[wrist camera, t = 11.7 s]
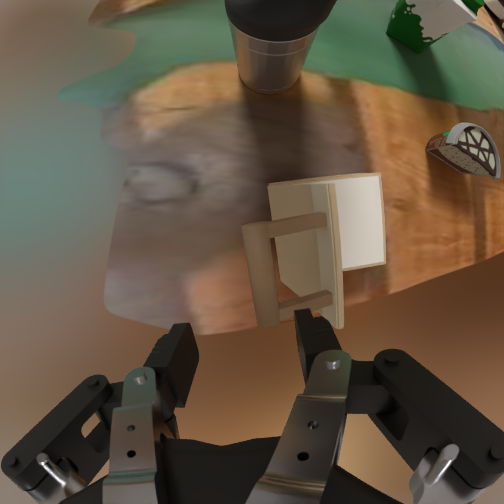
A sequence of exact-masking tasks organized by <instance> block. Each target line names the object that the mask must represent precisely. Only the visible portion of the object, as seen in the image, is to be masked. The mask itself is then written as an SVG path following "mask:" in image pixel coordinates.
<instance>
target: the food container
mask: <svg viewBox="0 0 504 504" xmlns="http://www.w3.org/2000/svg"><path fill="white" fill-rule="evenodd" d="M425 151H427V152H429V153H430V154H432V155H434V156H435V157H437V158H438V159H440V160H442V161H443V162H445V163H446V164H448V165H449V166H451V167H452V168H454V169H455V170H457V171H458V172H460V173H463V174H472V175H479V176H486V177H493V179H498V178H500V159H499V155H498V151H497V148H496V146H495V143H494V141H493V140H492V138H491V136H490V135H489V134H488V133H487V132H486V131H485V130H484V129H483V128H481V127H479V126H477V125H475V124H471V123H459V124H457V125H455V126H454V127H453V128H452V129H451V131H448V132H445V133H442V134H439V135H436V136H434V137H432V138H431V139H430V140H429V142H428V144H427V146H426V149H425Z"/></svg>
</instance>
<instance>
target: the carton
mask: <svg viewBox="0 0 504 504" xmlns="http://www.w3.org/2000/svg"><path fill="white" fill-rule="evenodd" d="M330 183H335V190H336V199H337V208H338V218H339V229H340V241H341V255H342V271H348V270H354V269H359V268H365V267H371V266H376V265H382V264H386V240H385V218H384V204H383V192H382V182H381V174H380V173H355V174H344V175H333V176H323V177H314V178H306V179H297V180H289V181H282V182H274V183H268V184H269V186H278V185H299V184H330Z"/></svg>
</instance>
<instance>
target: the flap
mask: <svg viewBox="0 0 504 504" xmlns="http://www.w3.org/2000/svg"><path fill="white" fill-rule="evenodd" d="M267 188H268V195H269V202H270V208H271V215H272V221H268V222H267V221H257V222H251V223H246V224H243V225H241V228H242V234H243V240H244V246H245V252H246V258H247V264H248V270H249V276H250V282H251V288H252V294H253V300H254V306H255V311H256V317H257V323H258V326H259V327H262V328H272V327H275V326H277V325H279V324H280V323H281V321H282V320H286V319H289V318H292V317H294V310H299V309H305V308H310V311H311V312H312V311H315V310H316V311H317V312H319V313H320V314H321V315H322V316H323V317H324V318H325V319H327V320H328V321H329V322H330V324H331V325H333V326H334V327H335V328H336V329H341V328H344V298H343V272H342V255H341V241H340V229H339V218H338V208H337V199H336V190H335V183H330V184H299V185H278V186H267ZM274 237H275V243H276V251H277V258H278V265H279V273H280V280H281V282H283V283H284V284H285V285H286V286H287V287H289V288H290V289H291V290H292V291H293V292H295V293H296V294H297V295H298V296H299V298H296V299H292V300H289V301H285V302H282V303H279V302H278V294H277V287H276V280H275V272H274V265H273V258H272V251H271V244H270V238H274Z"/></svg>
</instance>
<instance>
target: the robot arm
mask: <svg viewBox="0 0 504 504" xmlns="http://www.w3.org/2000/svg"><path fill="white" fill-rule="evenodd" d="M336 1H337V0H225V8H226V12H227V17H228V22H229V26H230V31H231V35H232V40H233V45H234V50H235V55H236V61H237V66H238V71H239V75H240V78H241V80H242V81H243V82H244V84H245V85H246V86H247V87H249V88H250V89H252V90H253V91H255V92H258V93H261V94H278V93H282V92H284V91H287V90H288V89H290V88H291V87H292V86H293V85H294V84H295V83H296V81H297V79H298V77H299V74H300V72H301V70H302V67H303V65H304V62H305V60H306V58H307V55H308V53H309V50H310V48H311V45H312V43H313V40H314V38H315V36H316V33H317V30H318V28H319V26H320V24H321V23H323V22H324V21H325V20H326V19H327V17H328V15H329V14H330V12H331V10H332V8H333V6H334V4H335V3H336ZM294 318H295V328H296V337H297V345H298V352H299V357H300V361H301V366H302V371H303V376H304V381H305V386H306V387H305V390H304V393H303V394H298V395H297V397H296V400H295V402H294V405H293V408H292V410H291V413H290V415H289V418H288V421H287V423H286V426H285V428H284V431H283V433H282V435H281V436H279V437H269V438H256V439H251V440H247V441H243V442H239V443H234V444H230V445H225V446H219V445H214V444H209V443H205V442H201V441H197V440H190V439H189V440H188V439H180V437H179V431H178V426H177V420H176V416H175V414H174V409H175V407H180V408H184V407H185V404H186V401H187V398H188V394H189V391H190V388H191V385H192V381H193V378H194V375H195V372H196V368H197V365H198V362H199V351H198V347H197V344H196V341H195V337H194V334H193V330H192V327H191V325H190V323H178V324H173V326H172V328H171V330H170V332H169V334H165V335H163V336H162V337H161V338H160V339H159V340H158V341H157V343H156V344H155V347H154V348H153V350H152V353H150V355H149V357H148V358H147V360H146V362H145V364H144V365H143V367H138V368H135V369H133V370H131V371H130V372H128V373H127V375H126V376H125V378H124V381H123V382H117V383H112V384H110V383H109V382H108V380H107V378H106V377H105V376H104V375H93V376H90V377H88V378H86V379H85V380H84V381H83V382H82V383H81V384H79V385H78V386H77V387H76V388H75V389H74V390H73V391H72V392H71V393H70V394H69V395H68V396H66V398H64V399H63V400H62V401H61V402H60V403H59V404H58V405H57V406H56V407H55V408H54V409H53V410H51V411H50V412H49V413H48V414H47V415H46V416H45V417H44V418H43V419H42V420H41V421H40V422H39V423H38V424H37V425H36V426H35V427H33V428H32V429H31V430H30V431H29V433H27V434H26V435H25V436H24V437H23V438H22V439H21V440H20V441H19V442H18V443H17V444H16V445H15V446H14V447H13V448H12V449H11V450H10V451H9V452H7V453H6V454H5V456H4V457H3V459H2V462H1V468H2V471H3V472H4V474H5V475H6V476H7V477H9V478H10V479H11V480H12V481H13V482H14V483H15V484H17V486H18V487H19V488H20V489H21V490H22V491H23V492H25V493H26V494H27V495H28V496H29V497H30V498H32V499H33V500H34V501H36V502H37V503H39V504H403V503H401V502H399V501H397V500H395V499H393V498H392V497H390V496H388V495H386V494H384V493H382V492H380V491H379V490H377V489H375V488H373V487H372V486H370V485H368V484H367V483H365V482H363V481H361V480H360V479H358V478H357V477H355V476H354V475H352V474H350V473H349V472H347V471H345V470H344V469H343V468H341V467H340V466H338V460H339V455H340V450H341V444H342V439H343V434H344V429H345V424H346V418H347V414H368V416H369V417H370V419H371V420H372V421H373V422H374V424H375V425H376V426H377V427H378V428H379V430H380V431H381V432H382V433H383V435H384V436H385V437H386V438H387V440H388V441H389V442H390V443H391V444H392V446H393V447H394V448H395V449H396V451H397V452H398V453H399V454H400V455H401V456H402V458H403V459H404V460H405V461H406V463H407V464H408V465H409V466H410V468H411V469H412V470H413V471H414V473H413V474H412V476H411V478H410V481H409V488H410V491H411V493H412V495H413V504H471V503H472V502H474V501H475V500H476V499H477V498H478V497H479V496H480V495H481V494H483V493H484V492H485V491H486V490H487V489H488V488H489V487H490V486H491V485H492V484H493V483H494V482H495V481H496V480H497V479H498V478H499V477H500V476H501V475H502V474H503V473H504V432H503V431H502V430H501V429H500V428H498V427H497V426H496V425H495V424H494V423H492V422H491V421H490V420H489V419H488V418H486V417H485V416H484V415H483V414H482V413H480V412H479V411H478V410H477V409H475V408H474V407H473V406H472V405H471V404H469V403H468V402H467V401H466V400H464V399H463V398H462V397H461V396H460V395H458V394H457V393H456V392H455V391H453V390H452V389H451V388H450V387H448V386H447V385H446V384H445V383H444V382H442V381H441V380H440V379H438V378H437V377H436V376H435V375H434V374H432V373H431V372H430V371H429V370H427V369H426V368H425V367H424V366H422V365H421V364H420V363H419V362H417V361H416V360H415V359H413V358H412V357H411V356H410V355H408V354H407V353H406V352H404V351H402V350H398V349H387V350H383V351H381V352H379V353H378V354H377V355H376V356H375V358H374V361H356V360H353V359H351V356H350V355H349V354H348V353H346V352H344V351H342V349H341V346H340V344H339V342H338V340H337V337H336V335H335V334H334V331H333V329H332V326H331V324H330V322H329V321H328V320H327V319H325V318H324V317H323V316H320V317H315V318H313V316H312V313H311V311H310V308H305V309H299V310H294ZM94 413H96V415H97V417H98V418H99V419H100V423H98V425H97V426H96V427H95V428H94V429H93V430H92V431H91V433H90V434H89V435H88V436H87V437H86V438H84V436H83V435H82V432H81V428H82V426H83V424H84V423H85V422H86V421H87V420H88V419H89V418H90V417H91V416H92V415H93V414H94ZM108 459H109V474H108V475H106V476H104V477H102V478H101V479H99V480H97V481H96V482H94V483H93V484H91V485H89V483H90V482H91V481H92V480H93V478H94V477H95V476H96V474H97V473H98V472H99V471H100V469H101V468H102V467H103V466H104V464H105V463H106V462H107V460H108ZM88 485H89V486H88Z"/></svg>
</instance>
